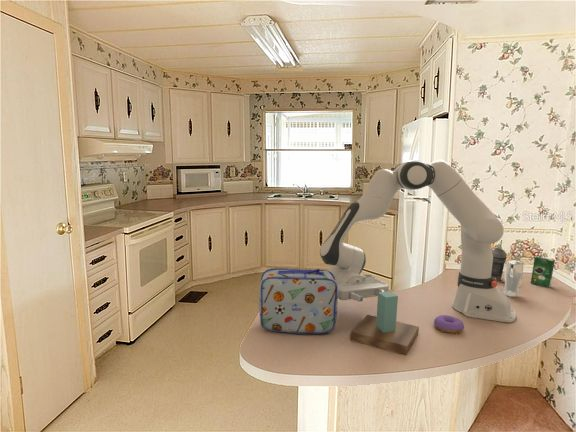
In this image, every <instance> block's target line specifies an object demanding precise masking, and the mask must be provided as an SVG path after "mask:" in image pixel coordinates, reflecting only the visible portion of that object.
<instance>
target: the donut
mask: <svg viewBox="0 0 576 432" xmlns="http://www.w3.org/2000/svg"><path fill="white" fill-rule="evenodd" d="M433 321H434V322H433V324H434V326H435V328H436V329H438V330H439V331H441V332H444V333H446V334H447V333H448V334H454V335H455V334H459V333H460V334H461V333H462V332H463V331H464V330H465V323H464V322H463V320H461V319H459V318H458V317H455V316H453V315H452V316H451V315H448V314H441V315H438V316H436V317H435V318H434V320H433Z"/></svg>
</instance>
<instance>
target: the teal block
mask: <svg viewBox="0 0 576 432" xmlns="http://www.w3.org/2000/svg"><path fill="white" fill-rule="evenodd" d="M398 297H399V296H398V295H397V294H396V293H393V292H392V291H390V290H389V291H387V292H379V293H378V296H377V304H376V305H377V306H376V317H377V318H376V327H377V328H378V329H379V330H381V331H382V332H383V333H385V332H392V331H395V329H396V321H397V315H398V314H397V312H398V300H399V299H398Z"/></svg>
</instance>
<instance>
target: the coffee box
mask: <svg viewBox="0 0 576 432" xmlns="http://www.w3.org/2000/svg"><path fill="white" fill-rule="evenodd" d="M555 261H556V260H555V259H552V258H551V259H550V258H546V257H540V256H534V261H533V266H532V272H531V279H530V280H531V281H530V284H533V285H538V286H540V287H541V286H542V287H545V288H550V287H551V285H552V280H553V273H554V268H555Z"/></svg>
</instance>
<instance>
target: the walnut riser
mask: <svg viewBox="0 0 576 432" xmlns="http://www.w3.org/2000/svg"><path fill="white" fill-rule="evenodd" d="M376 318H377V315H376V316H374V315H371V314H366V315H365V317H364V318H362V320H361V321H359V322H358V324H356V325H355V326H354V328H352V330H351V331H350V341H352V342H354V343H360V344H362V345H363V344H364V345H367V346H371V347H375V348H379V349H380V350H381V349H382V350H386V351H389V352H391V353H392V352H393V353H397V354H400V355H405V356H407V355H408V354H409V352H410V350H411V348H412V347H413V345H414V343H415V341H416V340H417V337H418V336H419V329H420V328H419V326H418V325H414V324H413V325H412V324H409V323H405V322H401V321H397V320H396V329H395V331H392V332H385V333H383V332H382V331H381V330H379V329H378V328H377V327H376Z"/></svg>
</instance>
